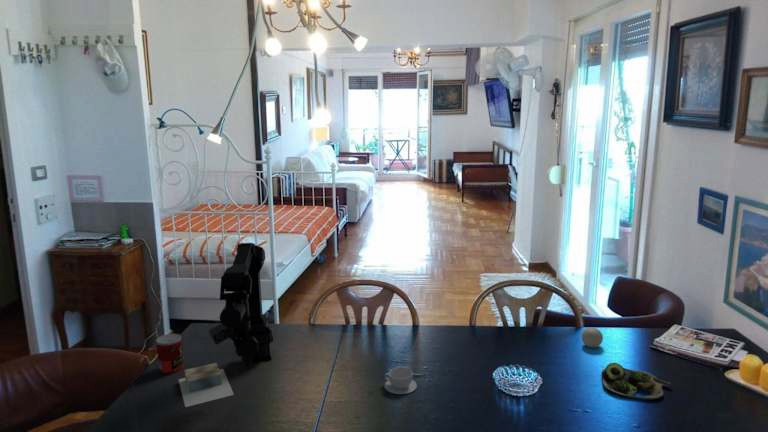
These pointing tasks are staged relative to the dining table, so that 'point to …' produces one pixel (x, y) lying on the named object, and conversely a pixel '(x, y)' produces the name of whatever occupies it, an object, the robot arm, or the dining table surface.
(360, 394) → the dining table surface
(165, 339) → the canned food
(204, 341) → the dining table surface
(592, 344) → the baseball
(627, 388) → the salad plate
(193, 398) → the white flat tray
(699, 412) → the dining table surface
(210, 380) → the beech slab
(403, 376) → the teacup
